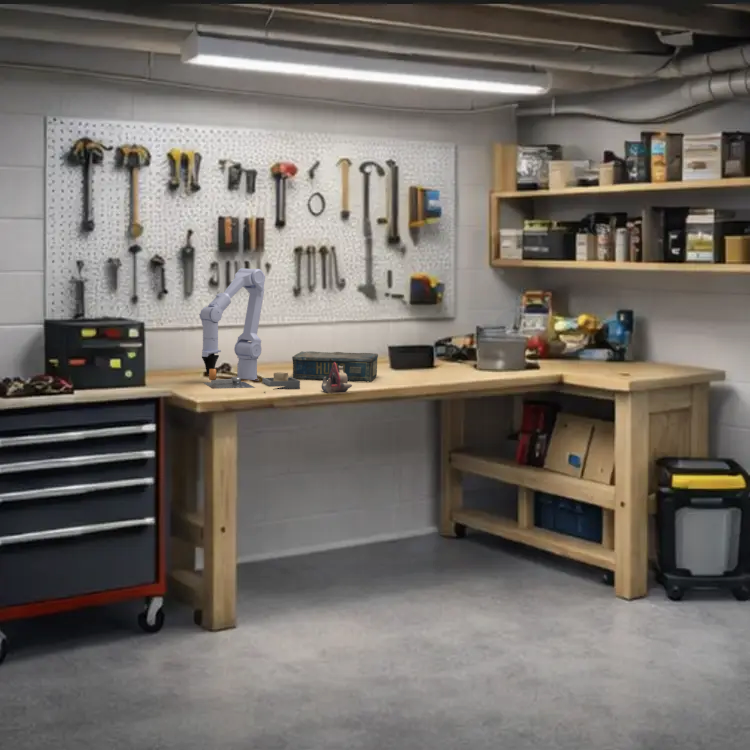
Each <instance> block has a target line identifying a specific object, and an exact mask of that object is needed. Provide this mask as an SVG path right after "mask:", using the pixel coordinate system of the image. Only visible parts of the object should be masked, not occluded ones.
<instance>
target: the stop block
mask: <svg viewBox="0 0 750 750" xmlns="http://www.w3.org/2000/svg"><path fill="white" fill-rule="evenodd" d="M288 377H289V372H286V371H285V372H284V371H283V372H282V371H278V372H277V371H276V372H273V378H274V381H288Z"/></svg>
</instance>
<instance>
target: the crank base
mask: <svg viewBox="0 0 750 750" xmlns="http://www.w3.org/2000/svg"><path fill="white" fill-rule="evenodd" d="M202 383H203V384H204V385H206V386H207V387H209V388H210V389H213V390H215V389H216V390H217V389H218V390H219V389H251V388H252V389H255V388H256V387H255V386H253V385H251V384H250V383H247V382H246V381H241V383H211V381H209V382H208V381H207V382H206V381H205V382H202Z"/></svg>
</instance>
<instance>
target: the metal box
mask: <svg viewBox="0 0 750 750" xmlns="http://www.w3.org/2000/svg"><path fill="white" fill-rule="evenodd" d="M378 357H379V354H378V353H373V352H343V351H334V352H323V351H322V352H321V351H313V350H312V351H300V352H299V353H296V354H295V355H293V356H292V357H291V359H292V378H295V379H297V380H299V381H323V379H324V377H326V380H328V379H329V374H330V371H331V368H332V366H333V363H334V362H335V363H336V366H337V369H338V366H341V367H342V366H343V372H344V373H346V374H347V377H348V382H354V381H371V380H372V381H373V380H375V378H376V377H377V376H378V375H377V373H378ZM332 376H333V375H332ZM372 381H371V382H372Z"/></svg>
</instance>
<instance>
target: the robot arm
mask: <svg viewBox="0 0 750 750" xmlns="http://www.w3.org/2000/svg"><path fill="white" fill-rule="evenodd" d="M265 282H266V275H265V273H264V272H263V270H262V269H260V268H245V267H241V268H240V269H238V271H237V272H235V273H234V278H233V280H232V281H231V283H229V285H228V286H227V288H226V289H225V290H224V292H219V293H216V295H215V297H214V299H213V300H212V301H211V302H209V304H208V305H207V306H204V307H203V308H202V309H201V310H200V312H199V319H200V320H201V326H202V350H201V359H202V361H203V362H204V366H205V370H206V371H205V372H206V374H207V375H209V369H216V364H217V362H218V359H219V356H220V355H219V353H221V352H222V350H221V349H219V322H220V321H221V320H222V317H223V313H224V311H225V310H226V309H227V308H228V306H230V305H231V302H232V301H231V299H232V298H233V297H234V296H235V295H236V294H237V293H238V292H239V291H240V290H241V289H242V288H244V289H245V290H247V292H248V294H249V295H248V296H249V297H248V300H247V301H248V302H247V309H246V315H245V319H244V326H243V331H242V333H241V334H239V336H237V339H236V342H235V345H234V349H233V350H234V354H235V355H236V356H237V359H238V361H237V367H236V368H237V370H236V371H237V374H236V375H237V376H236V377H241V380H252V381H256V380H255V379H258V359H259V357H260V356H261V354H262V340H261V338H260V337H259V336H258V332H259V326H260V325H259V324H260V317H261V312H262V307H263V300H264V294H265Z"/></svg>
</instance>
